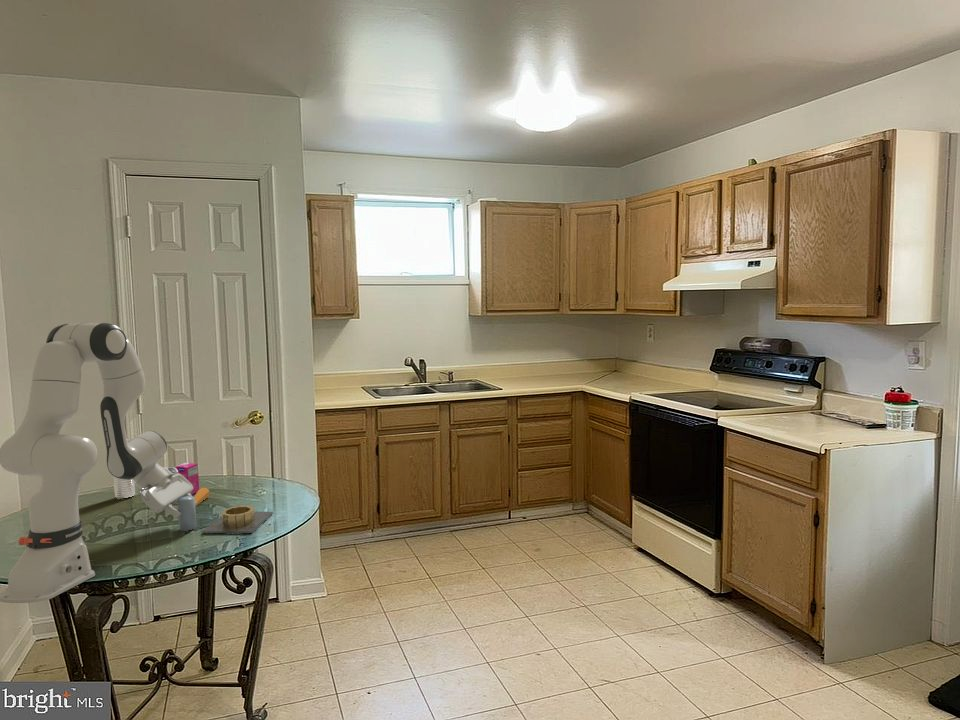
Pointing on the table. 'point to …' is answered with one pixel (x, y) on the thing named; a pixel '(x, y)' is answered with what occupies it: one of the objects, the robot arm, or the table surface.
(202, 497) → the carrot
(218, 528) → the mounting plate
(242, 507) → the brass socket
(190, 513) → the grey capsule peg
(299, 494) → the table surface
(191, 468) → the supplement box
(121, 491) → the water bottle
